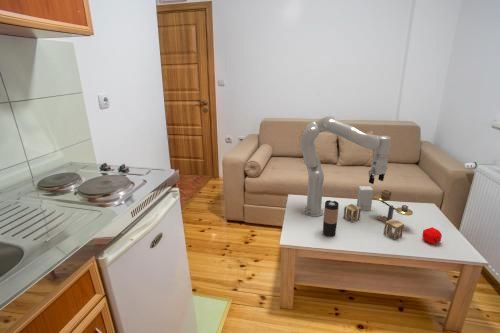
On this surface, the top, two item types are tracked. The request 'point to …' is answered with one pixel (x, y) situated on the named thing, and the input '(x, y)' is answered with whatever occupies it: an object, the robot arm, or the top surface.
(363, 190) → the skincare box
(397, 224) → the cover right
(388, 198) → the block
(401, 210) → the balance
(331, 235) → the travel mug
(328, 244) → the top surface
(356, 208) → the wooden slatted crate
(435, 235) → the ball
